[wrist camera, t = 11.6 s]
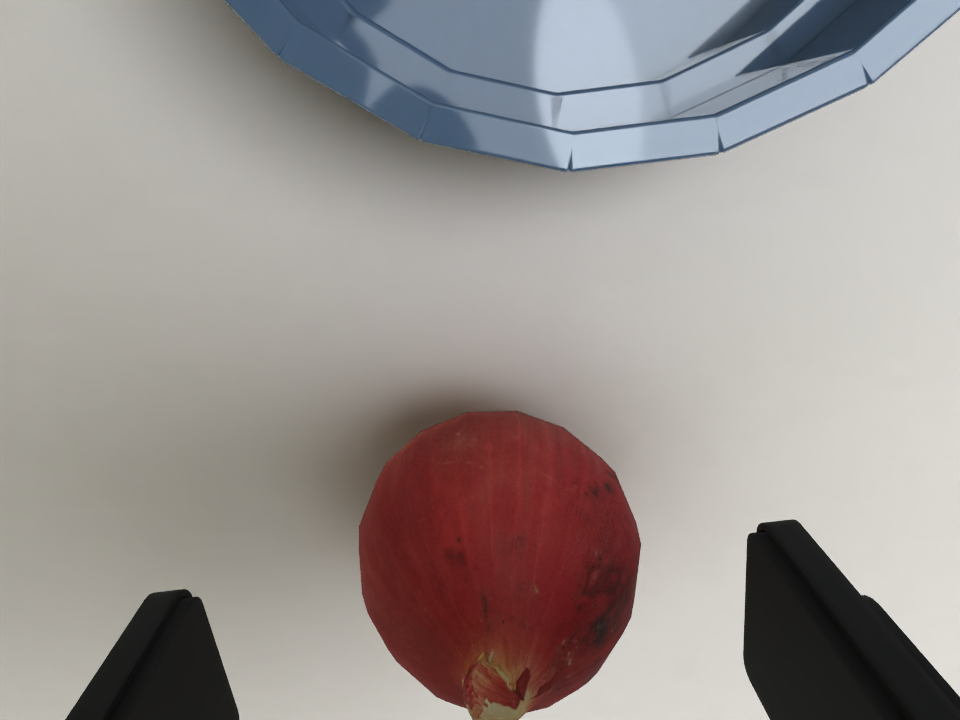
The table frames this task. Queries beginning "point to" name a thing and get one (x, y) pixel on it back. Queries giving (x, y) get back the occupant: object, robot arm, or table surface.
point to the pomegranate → (499, 562)
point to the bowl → (592, 68)
